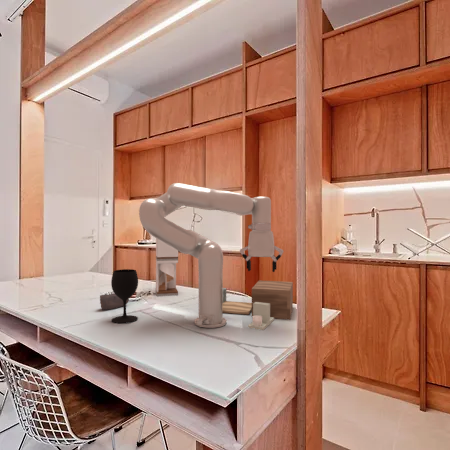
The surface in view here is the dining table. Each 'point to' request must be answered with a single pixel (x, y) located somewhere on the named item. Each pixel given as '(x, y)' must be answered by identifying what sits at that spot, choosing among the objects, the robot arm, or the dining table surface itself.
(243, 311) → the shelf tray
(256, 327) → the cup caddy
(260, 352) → the dining table surface
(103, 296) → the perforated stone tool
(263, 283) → the brown wooden block
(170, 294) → the display case
